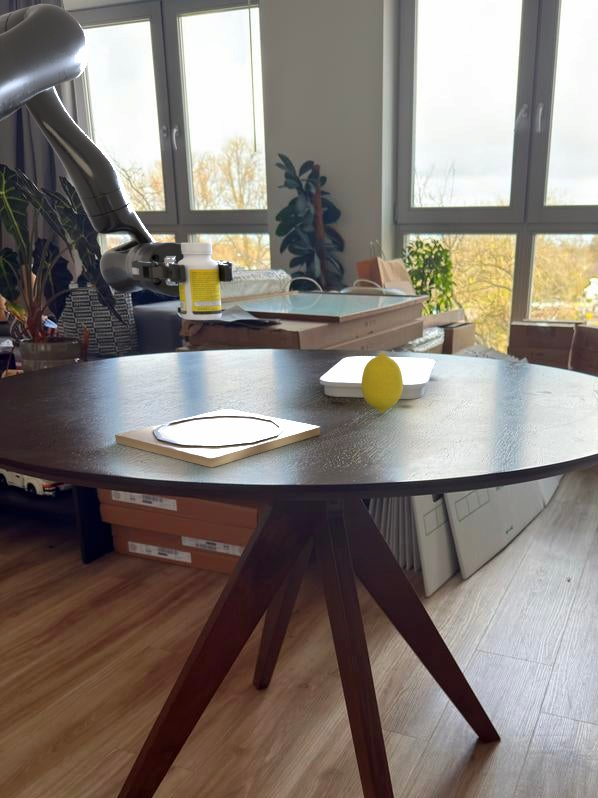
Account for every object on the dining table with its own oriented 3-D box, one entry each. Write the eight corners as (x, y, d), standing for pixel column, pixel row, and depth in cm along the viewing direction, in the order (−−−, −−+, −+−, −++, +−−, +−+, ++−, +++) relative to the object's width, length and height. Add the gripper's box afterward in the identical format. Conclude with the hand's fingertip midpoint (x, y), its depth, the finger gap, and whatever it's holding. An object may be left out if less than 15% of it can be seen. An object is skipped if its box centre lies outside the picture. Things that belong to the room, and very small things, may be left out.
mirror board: (211, 467, 73) (211, 456, 73) (115, 442, 82) (114, 432, 82) (320, 434, 86) (320, 424, 86) (227, 416, 95) (226, 407, 95)
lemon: (360, 417, 95) (360, 356, 92) (362, 408, 100) (362, 349, 97) (402, 417, 95) (403, 356, 92) (402, 408, 100) (403, 350, 97)
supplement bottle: (230, 318, 100) (225, 242, 97) (205, 321, 96) (199, 242, 92) (198, 315, 102) (192, 242, 99) (173, 319, 98) (166, 242, 94)
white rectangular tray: (436, 371, 129) (436, 358, 129) (425, 400, 105) (425, 385, 104) (346, 368, 131) (346, 355, 131) (316, 396, 107) (315, 381, 106)
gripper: (112, 241, 103) (148, 242, 90) (209, 242, 110) (255, 243, 97) (118, 295, 106) (153, 305, 92) (212, 293, 113) (257, 301, 100)
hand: (205, 273), depth 95 cm, fingers closed on supplement bottle, 5 cm apart
